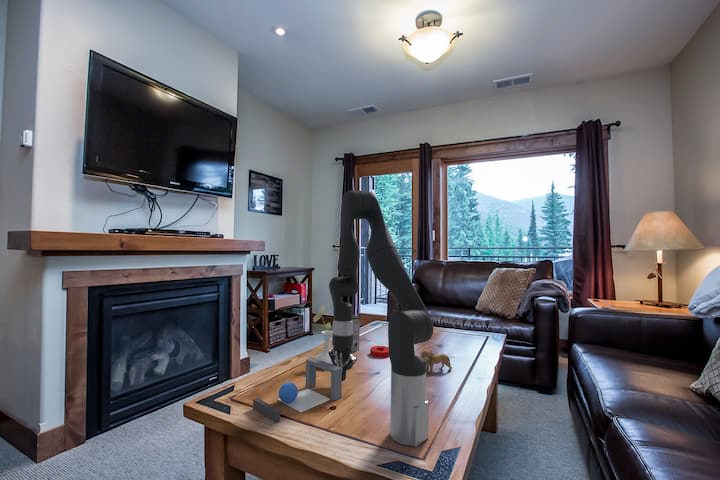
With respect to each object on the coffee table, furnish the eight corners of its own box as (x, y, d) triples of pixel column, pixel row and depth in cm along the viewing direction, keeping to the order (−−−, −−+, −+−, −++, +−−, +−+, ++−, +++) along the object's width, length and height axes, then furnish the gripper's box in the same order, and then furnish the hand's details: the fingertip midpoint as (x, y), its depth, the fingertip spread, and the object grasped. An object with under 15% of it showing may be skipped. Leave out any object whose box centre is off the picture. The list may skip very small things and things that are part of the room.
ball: (301, 381, 108) (284, 386, 104) (301, 401, 107) (284, 407, 103) (291, 378, 112) (274, 383, 108) (292, 397, 111) (275, 403, 107)
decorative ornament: (368, 352, 161) (368, 345, 161) (387, 351, 163) (387, 345, 163) (372, 359, 151) (372, 352, 151) (393, 358, 153) (393, 351, 153)
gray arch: (312, 384, 121) (312, 357, 121) (341, 397, 111) (342, 368, 111) (305, 387, 119) (306, 359, 119) (334, 400, 109) (335, 370, 109)
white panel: (330, 399, 109) (330, 399, 109) (300, 412, 101) (300, 411, 101) (307, 388, 118) (307, 388, 118) (277, 399, 109) (277, 399, 109)
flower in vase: (326, 358, 150) (327, 302, 150) (345, 364, 142) (347, 305, 143) (304, 366, 140) (305, 305, 140) (323, 373, 132) (325, 309, 133)
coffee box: (340, 347, 168) (340, 314, 168) (352, 345, 170) (352, 313, 171) (347, 352, 159) (348, 318, 160) (359, 350, 162) (360, 317, 162)
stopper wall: (279, 421, 95) (280, 410, 95) (275, 423, 94) (275, 412, 94) (257, 407, 103) (257, 397, 103) (252, 408, 102) (253, 398, 102)
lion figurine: (423, 375, 132) (424, 352, 133) (417, 370, 137) (417, 348, 138) (455, 371, 137) (456, 349, 137) (448, 367, 142) (448, 345, 143)
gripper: (322, 330, 124) (321, 378, 123) (348, 337, 115) (347, 389, 114) (337, 327, 129) (336, 373, 129) (363, 333, 120) (362, 382, 120)
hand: (341, 380), depth 122 cm, fingers closed
